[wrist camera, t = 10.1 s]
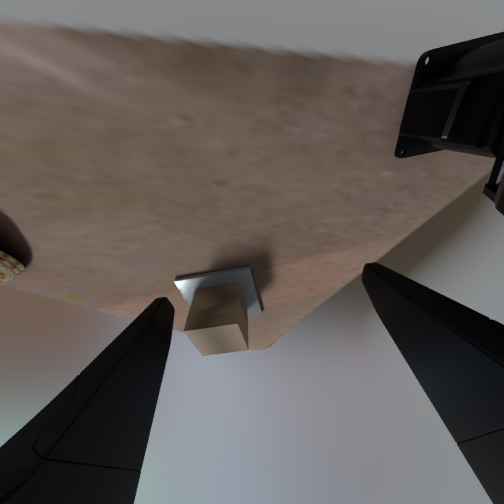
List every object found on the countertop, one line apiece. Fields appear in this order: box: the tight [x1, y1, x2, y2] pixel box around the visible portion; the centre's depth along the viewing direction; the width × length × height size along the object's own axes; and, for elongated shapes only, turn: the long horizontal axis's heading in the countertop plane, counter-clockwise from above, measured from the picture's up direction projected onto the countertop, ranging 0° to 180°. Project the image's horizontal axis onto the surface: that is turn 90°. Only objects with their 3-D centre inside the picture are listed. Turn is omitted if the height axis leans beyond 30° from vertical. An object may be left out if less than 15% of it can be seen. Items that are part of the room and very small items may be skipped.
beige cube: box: [184, 282, 248, 356], centre depth 24 cm, size 6×6×6 cm
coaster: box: [174, 266, 262, 317], centre depth 27 cm, size 10×10×1 cm
